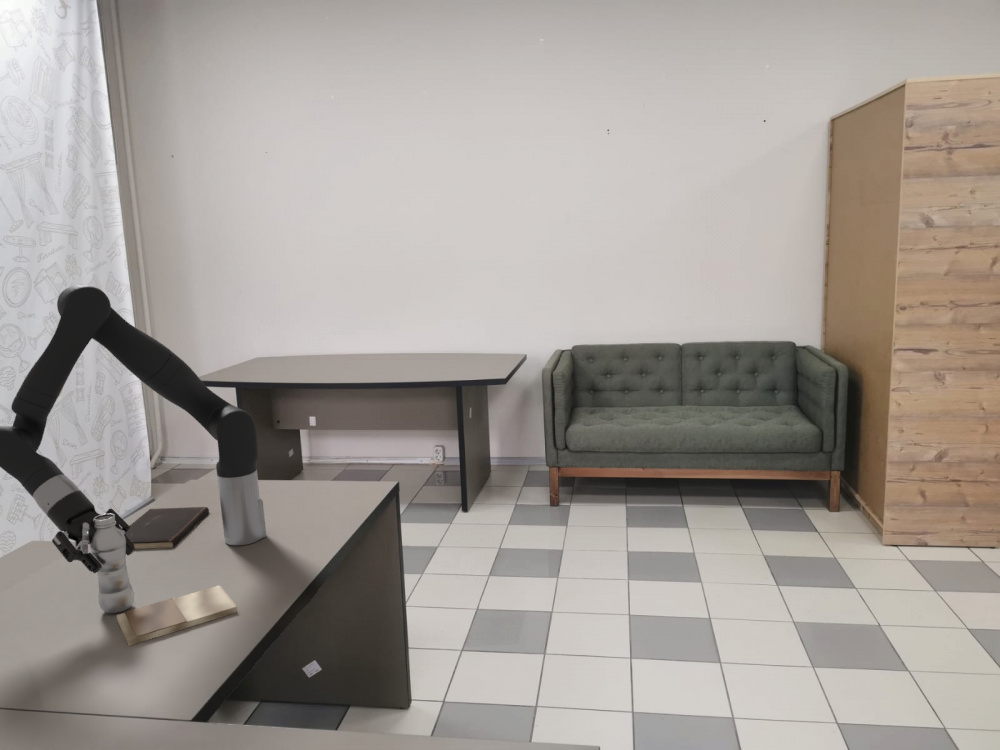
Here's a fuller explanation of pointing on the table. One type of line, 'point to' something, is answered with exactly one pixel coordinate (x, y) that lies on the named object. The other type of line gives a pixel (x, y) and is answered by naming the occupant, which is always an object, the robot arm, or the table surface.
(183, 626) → the board
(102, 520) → the plastic bottle
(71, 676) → the table surface
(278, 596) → the table surface
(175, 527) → the hardcover book
